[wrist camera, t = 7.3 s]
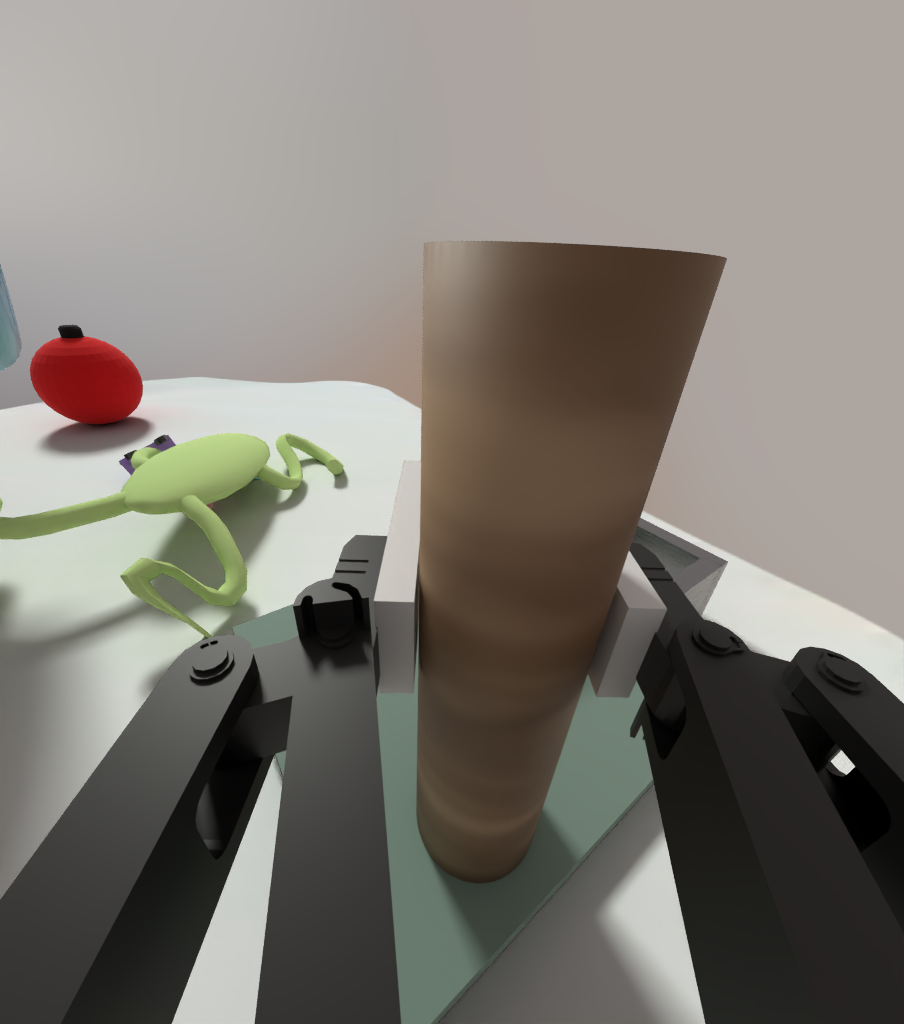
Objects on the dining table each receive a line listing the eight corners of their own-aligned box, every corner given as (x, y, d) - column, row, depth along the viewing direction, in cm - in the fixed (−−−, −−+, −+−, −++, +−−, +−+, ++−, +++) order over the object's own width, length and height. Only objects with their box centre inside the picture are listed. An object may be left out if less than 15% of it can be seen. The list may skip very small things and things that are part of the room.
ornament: (172, 417, 49) (144, 325, 43) (92, 441, 41) (47, 334, 36) (117, 406, 51) (84, 317, 46) (32, 427, 44) (-18, 325, 38)
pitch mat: (387, 1079, 10) (385, 1073, 9) (236, 641, 21) (231, 627, 20) (708, 722, 18) (716, 708, 18) (480, 544, 29) (481, 533, 29)
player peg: (464, 919, 12) (591, 238, 3) (394, 791, 14) (372, 242, 6) (559, 825, 14) (780, 264, 5) (483, 729, 16) (554, 259, 8)
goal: (637, 667, 21) (662, 608, 19) (494, 555, 28) (500, 505, 26) (701, 616, 24) (727, 561, 22) (558, 528, 31) (568, 482, 29)
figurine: (-200, 659, 19) (-307, 563, 16) (180, 447, 42) (163, 392, 39) (180, 705, 18) (137, 612, 15) (357, 462, 41) (353, 407, 38)
